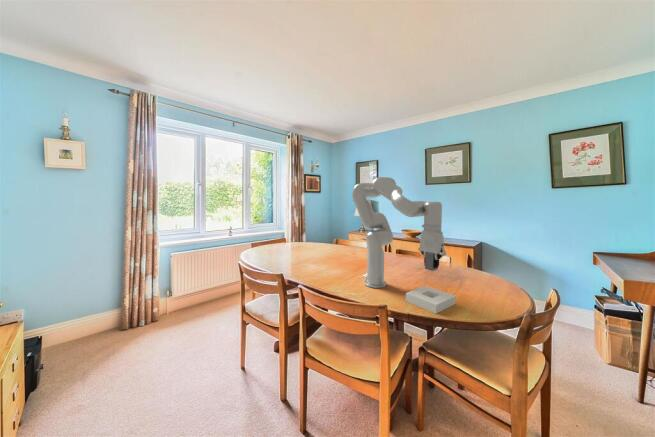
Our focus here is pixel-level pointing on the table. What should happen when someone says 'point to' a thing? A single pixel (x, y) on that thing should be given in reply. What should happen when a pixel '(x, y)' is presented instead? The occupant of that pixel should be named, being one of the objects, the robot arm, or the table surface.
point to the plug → (429, 261)
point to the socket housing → (430, 299)
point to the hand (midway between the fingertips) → (431, 266)
